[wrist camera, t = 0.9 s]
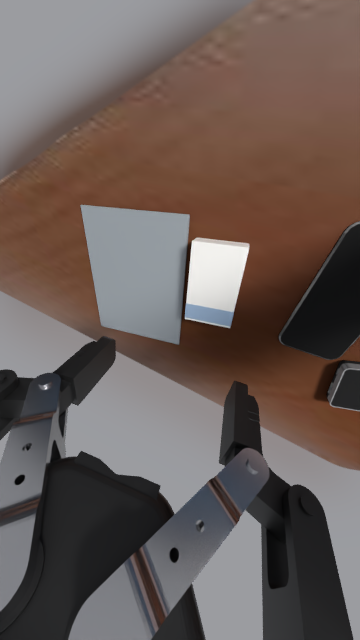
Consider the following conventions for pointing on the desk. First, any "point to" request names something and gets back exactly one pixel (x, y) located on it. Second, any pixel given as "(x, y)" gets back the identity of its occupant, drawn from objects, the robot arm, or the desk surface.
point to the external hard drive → (345, 386)
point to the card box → (214, 280)
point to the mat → (138, 269)
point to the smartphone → (330, 303)
